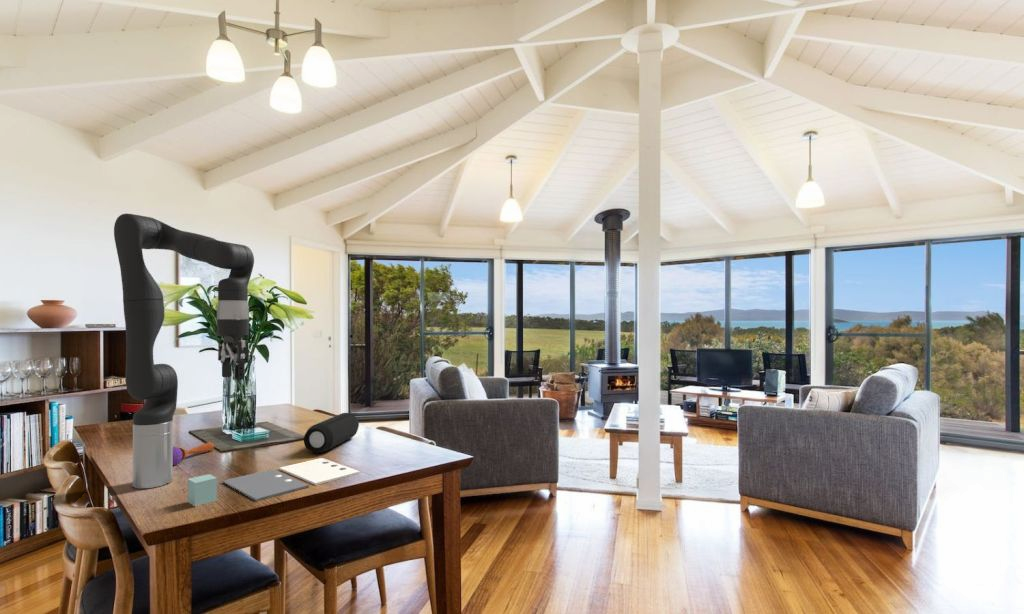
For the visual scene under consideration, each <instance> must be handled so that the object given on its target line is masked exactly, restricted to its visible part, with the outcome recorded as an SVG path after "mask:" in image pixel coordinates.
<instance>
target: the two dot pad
mask: <svg viewBox="0 0 1024 614" xmlns="http://www.w3.org/2000/svg"><path fill="white" fill-rule="evenodd" d="M222 482H223V483H222ZM221 483H222V484H224V483H225V484H227V485H229V486H230V487H229V486H228V487H229V488H231V487H232V488H231V489H233V488H234V489H233V490H235V489H236V490H238V491H239V492H238V491H237V492H238V493H240V492H241V493H240V494H242V493H243V495H244V494H245V495H244V496H245V497H247V496H248V497H247V498H249V499H251V500H253V501H255V502H260V501H263V500H266V499H269V498H270V499H271V498H273V497H278V496H281V495H285V494H288V493H292V492H296V491H300V490H304V489H308V488H309V487H310V485H309V484H307V483H306V482H303V481H301V480H298V479H295V478H293V476H289V475H286V474H285V473H282V472H280V471H278V470H275V469H273V468H271V469H268V470H263V471H258V472H254V473H250V474H246V475H240V476H236V477H232V478H229V479H225V480H222V481H221ZM225 484H224V485H225ZM227 485H226V486H227ZM236 490H235V491H236Z"/></svg>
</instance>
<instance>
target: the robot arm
mask: <svg viewBox="0 0 1024 614" xmlns="http://www.w3.org/2000/svg"><path fill="white" fill-rule="evenodd" d="M113 237H114V238H113V239H114V243H115V249H116V253H117V259H118V262H119V269H120V277H121V286H122V288H121V289H122V303H123V305H122V306H123V316H124V322H125V323H124V324H125V343H126V346H125V347H126V356H125V375H124V376H125V377H124V379H125V380H124V381H125V387H126V390H127V392H128V394H129V395H130V397H132V398H133V399H134V400H138V401H143V400H145V402H144V403H143V405H142V406H141V407H140V409H138V410H137V411H135V412H134V413H133V415H132V473H131V475H132V476H131V477H132V481H131V484H132V488H133V487H134V489H151V488H157V487H161V486H165V485H168V484H170V483H171V482H172V481H173V468H174V466H173V447H174V427H173V426H174V421H173V420H174V413H175V411H176V408H177V404H178V403H177V402H178V387H179V386H178V385H179V384H178V383H179V382H178V381H179V380H178V375H177V372H176V370H175V369H174V368H173V366H171V365H169V364H167V363H155V360H154V346H155V342H156V339H157V337H158V335H159V333H160V330H161V328H162V326H163V324H164V320H165V301H164V294H163V292H162V289H161V287H160V286H159V285H158V283H157V281H156V280H155V278H154V277H153V275H152V274H151V273H150V271H149V270H148V268H147V266H146V263H145V259H144V255H143V250H167V251H173V252H176V253H178V255H179V254H180V255H181V256H183V257H185V258H188V259H191V260H194V261H199V262H202V263H206V264H208V265H209V266H213V267H216V268H220V269H224V270H230V271H229V276H228V277H227V278H222V279H220V280H219V281H218V286H217V306H216V335H217V336H219V337H223V338H218V345H217V346H218V348H217V350H218V351H217V360H218V361H219V362H220V364H221V377H222V378H231V377H232V372H233V373H234V375H233V376H234V380H235V381H242V380H244V379H245V365H246V364H249V362H250V358H249V357H250V355H249V353H250V352H249V340H248V339H243V336H248V335H249V334H250V333H249V331H250V330H249V328H250V327H249V325H250V324H249V323H250V318H249V317H250V312H249V311H250V309H249V304H248V299H249V298H248V297H249V296H248V295H249V294H248V293H249V289H248V286H249V283H250V279H251V276H252V273H253V269H254V264H255V257H254V253H253V251H252V250H251V248H250V247H249V246H246V245H244V244H239V243H232V242H228V241H222V240H218V239H216V238H214V237H211V236H207V235H203V234H199V233H195V232H190V231H185V230H184V231H183V230H182V229H181V230H180V229H177V228H175V227H173V226H171V225H169V224H166V223H165V222H162V221H160V220H158V219H156V218H154V217H151V216H145V215H140V214H133V213H122V214H120V215H119V216H118V217H117V218H116V220H115V221H114V225H113ZM232 361H233V364H234V367H233V364H232ZM232 367H233V368H234V371H232ZM169 482H170V483H169ZM167 483H168V484H167Z"/></svg>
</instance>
